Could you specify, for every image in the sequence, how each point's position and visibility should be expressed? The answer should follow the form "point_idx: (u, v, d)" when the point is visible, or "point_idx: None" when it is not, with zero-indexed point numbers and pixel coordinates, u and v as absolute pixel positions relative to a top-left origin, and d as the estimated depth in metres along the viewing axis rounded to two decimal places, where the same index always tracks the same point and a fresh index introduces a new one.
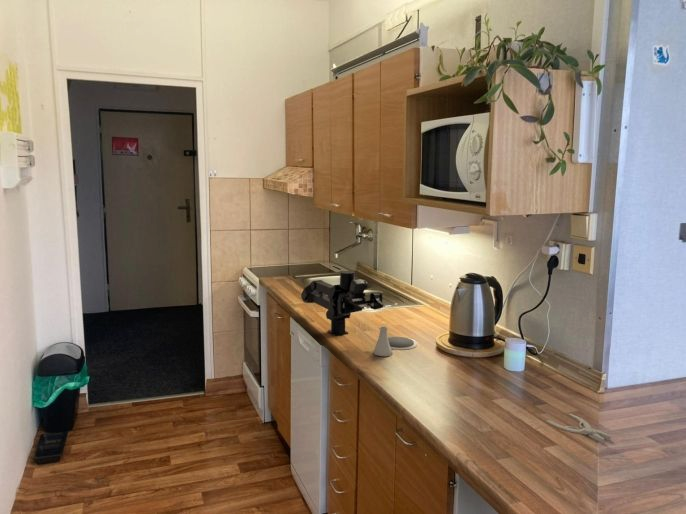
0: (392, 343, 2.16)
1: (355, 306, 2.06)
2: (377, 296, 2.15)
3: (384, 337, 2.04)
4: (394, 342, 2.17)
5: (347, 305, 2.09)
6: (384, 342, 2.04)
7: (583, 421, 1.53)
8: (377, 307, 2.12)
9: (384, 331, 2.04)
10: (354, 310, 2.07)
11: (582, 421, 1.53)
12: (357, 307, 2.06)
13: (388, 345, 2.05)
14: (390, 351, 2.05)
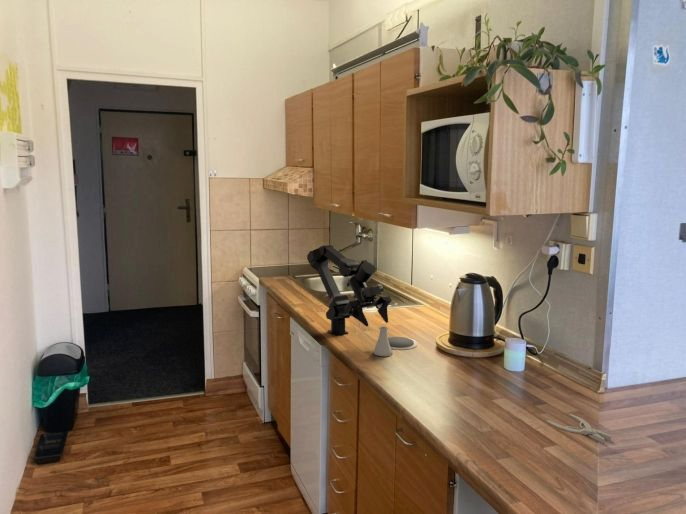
0: (392, 343, 2.16)
1: (362, 319, 2.06)
2: (386, 304, 2.12)
3: (384, 337, 2.04)
4: (394, 342, 2.17)
5: (355, 311, 2.07)
6: (384, 342, 2.04)
7: (583, 421, 1.53)
8: (381, 315, 2.13)
9: (384, 331, 2.04)
10: (360, 320, 2.07)
11: (582, 421, 1.53)
12: (364, 321, 2.05)
13: (388, 345, 2.05)
14: (390, 351, 2.05)
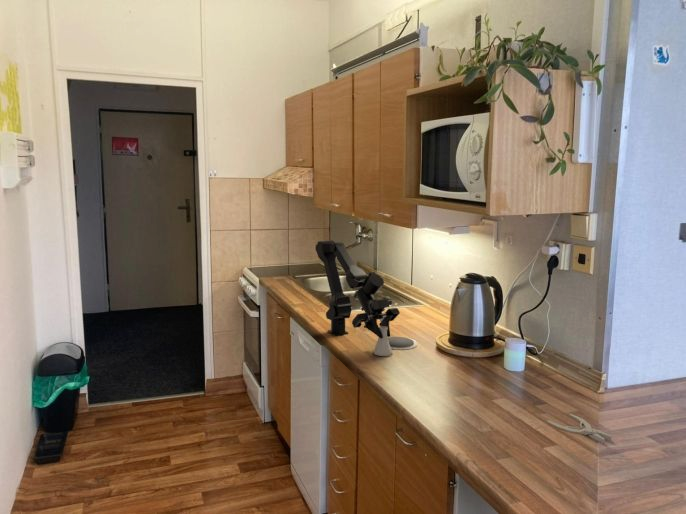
0: (392, 343, 2.16)
1: (377, 331, 2.04)
2: (388, 318, 2.07)
3: (384, 337, 2.04)
4: (394, 342, 2.17)
5: (370, 323, 2.05)
6: (384, 342, 2.04)
7: (584, 421, 1.53)
8: None
9: (384, 331, 2.04)
10: (374, 332, 2.05)
11: (583, 421, 1.53)
12: (378, 333, 2.04)
13: (388, 345, 2.05)
14: (390, 351, 2.05)
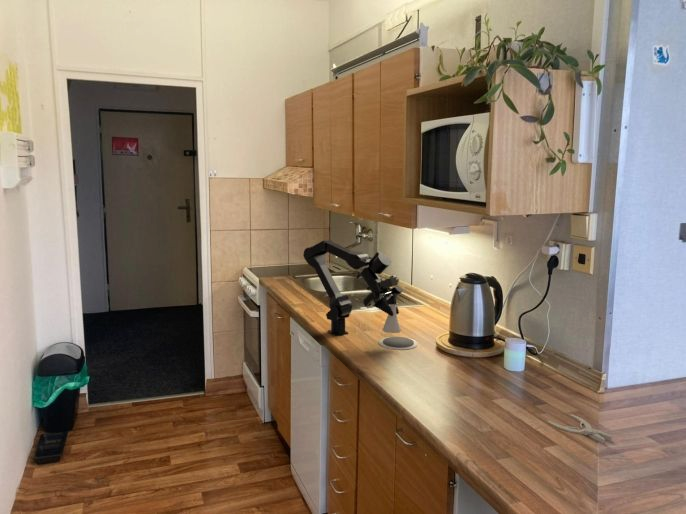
0: (392, 343, 2.16)
1: (387, 309, 2.09)
2: (395, 296, 2.14)
3: (394, 314, 2.10)
4: (394, 342, 2.17)
5: (380, 302, 2.10)
6: (395, 319, 2.10)
7: (584, 421, 1.53)
8: None
9: (394, 308, 2.10)
10: (384, 310, 2.10)
11: (583, 421, 1.53)
12: (389, 311, 2.09)
13: (398, 322, 2.11)
14: (399, 328, 2.11)
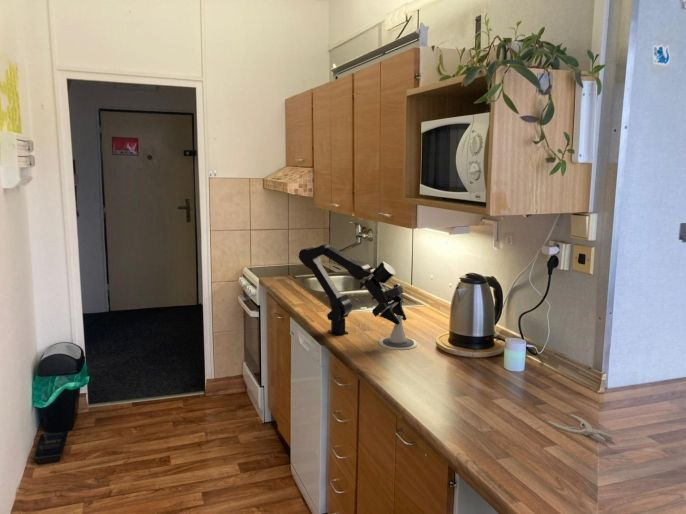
0: (392, 343, 2.16)
1: (394, 318, 2.13)
2: (401, 303, 2.21)
3: (401, 325, 2.16)
4: None
5: (386, 311, 2.13)
6: (401, 330, 2.16)
7: (584, 421, 1.53)
8: (397, 314, 2.21)
9: (401, 320, 2.16)
10: (390, 319, 2.14)
11: (583, 421, 1.53)
12: (395, 320, 2.13)
13: None
14: None
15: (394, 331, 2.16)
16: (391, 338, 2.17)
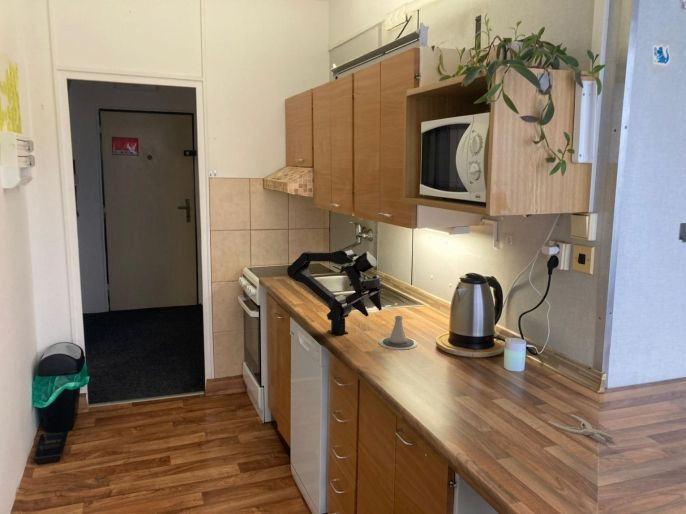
0: (392, 343, 2.16)
1: (363, 309, 2.16)
2: (379, 293, 2.25)
3: (401, 325, 2.16)
4: None
5: (356, 302, 2.16)
6: (401, 330, 2.16)
7: (584, 422, 1.53)
8: (374, 303, 2.26)
9: (400, 320, 2.16)
10: (360, 310, 2.17)
11: (583, 422, 1.53)
12: (364, 312, 2.17)
13: None
14: None
15: (394, 331, 2.16)
16: (391, 338, 2.17)
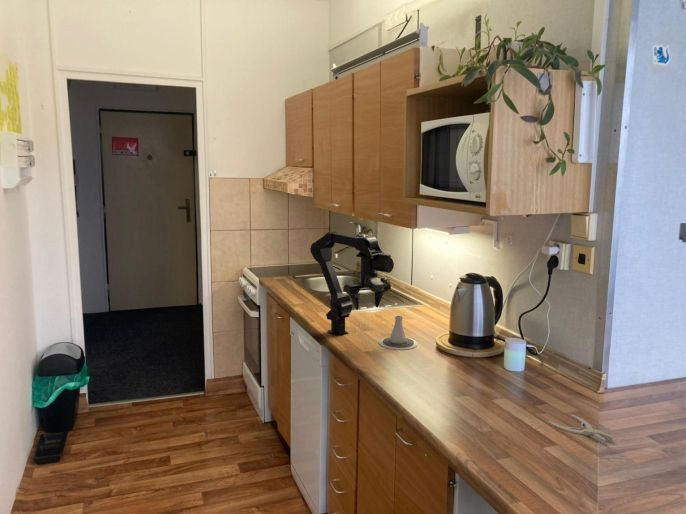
0: (392, 343, 2.16)
1: (355, 303, 2.16)
2: (383, 292, 2.20)
3: (401, 325, 2.16)
4: None
5: None
6: (401, 330, 2.16)
7: (584, 422, 1.53)
8: (375, 297, 2.22)
9: (401, 320, 2.16)
10: (353, 301, 2.17)
11: (583, 422, 1.53)
12: (355, 305, 2.16)
13: None
14: None
15: (394, 331, 2.16)
16: (391, 338, 2.17)
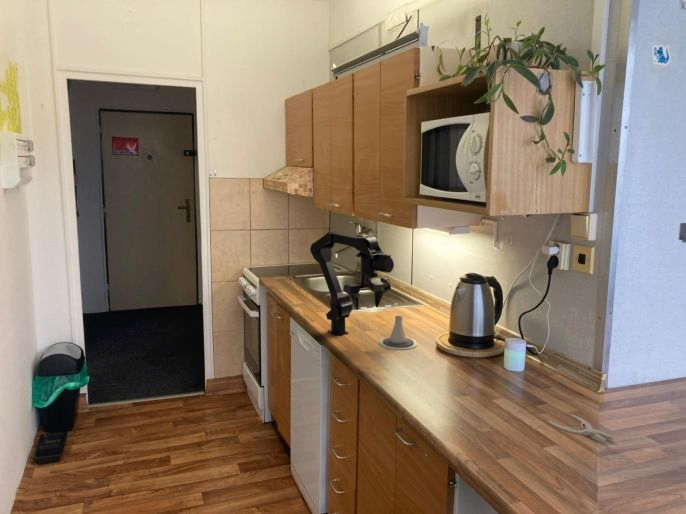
0: (392, 343, 2.16)
1: (355, 303, 2.16)
2: (383, 292, 2.20)
3: (401, 325, 2.16)
4: None
5: None
6: (401, 330, 2.16)
7: (585, 422, 1.53)
8: (375, 297, 2.22)
9: (400, 320, 2.16)
10: (353, 301, 2.17)
11: (584, 422, 1.53)
12: (355, 305, 2.16)
13: None
14: None
15: (394, 331, 2.16)
16: (391, 338, 2.17)
